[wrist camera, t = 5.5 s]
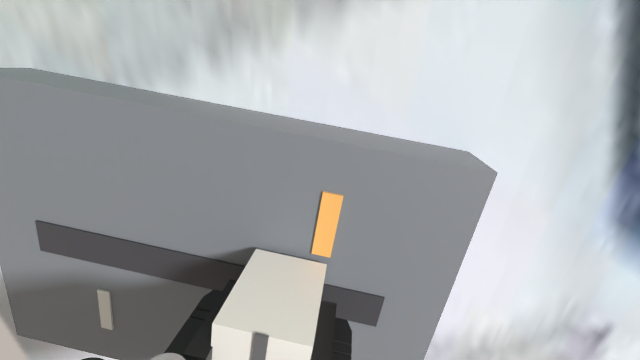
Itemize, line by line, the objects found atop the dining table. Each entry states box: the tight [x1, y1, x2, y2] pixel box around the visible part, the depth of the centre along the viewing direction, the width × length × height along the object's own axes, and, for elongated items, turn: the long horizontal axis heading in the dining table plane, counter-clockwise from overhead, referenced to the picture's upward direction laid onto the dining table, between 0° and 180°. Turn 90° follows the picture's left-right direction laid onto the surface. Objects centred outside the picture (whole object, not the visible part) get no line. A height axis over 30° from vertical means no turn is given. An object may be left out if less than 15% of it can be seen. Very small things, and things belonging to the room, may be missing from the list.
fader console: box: [0, 68, 497, 360], centre depth 15 cm, size 14×21×3 cm, turn 80°
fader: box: [211, 249, 327, 360], centre depth 11 cm, size 4×3×4 cm
